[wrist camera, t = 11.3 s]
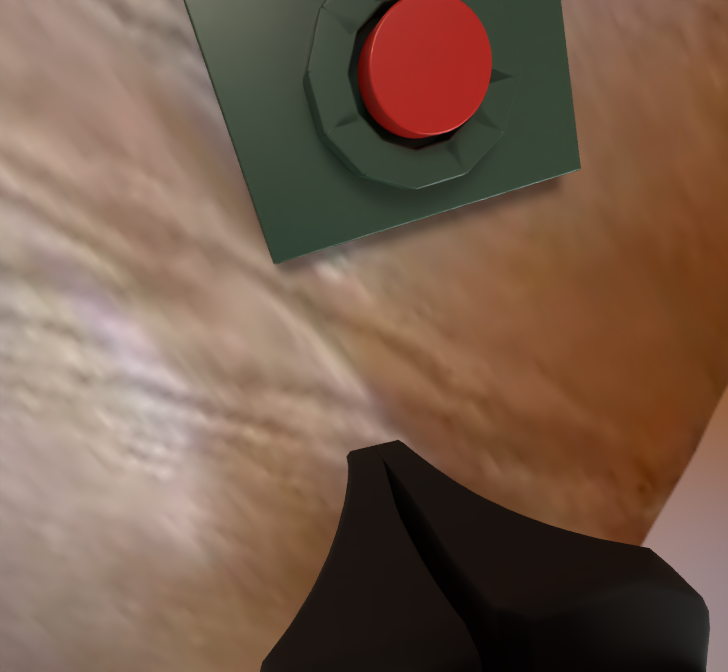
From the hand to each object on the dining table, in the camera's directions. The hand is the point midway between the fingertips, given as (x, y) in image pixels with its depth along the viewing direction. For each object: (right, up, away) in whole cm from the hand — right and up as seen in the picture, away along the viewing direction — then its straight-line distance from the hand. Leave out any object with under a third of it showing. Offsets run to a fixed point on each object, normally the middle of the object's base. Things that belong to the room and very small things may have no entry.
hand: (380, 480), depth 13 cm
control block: (+1, +12, +6) cm, 14 cm away
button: (+1, +12, +3) cm, 12 cm away
